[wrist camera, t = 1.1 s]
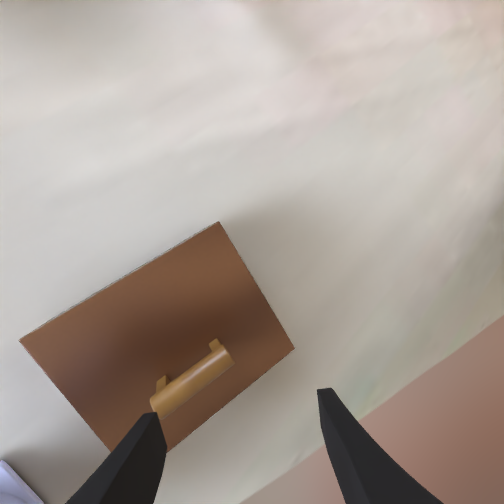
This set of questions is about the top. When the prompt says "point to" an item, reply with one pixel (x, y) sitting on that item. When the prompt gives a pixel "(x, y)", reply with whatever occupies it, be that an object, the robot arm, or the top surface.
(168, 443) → the lid
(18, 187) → the top surface
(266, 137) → the top surface
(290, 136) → the top surface
